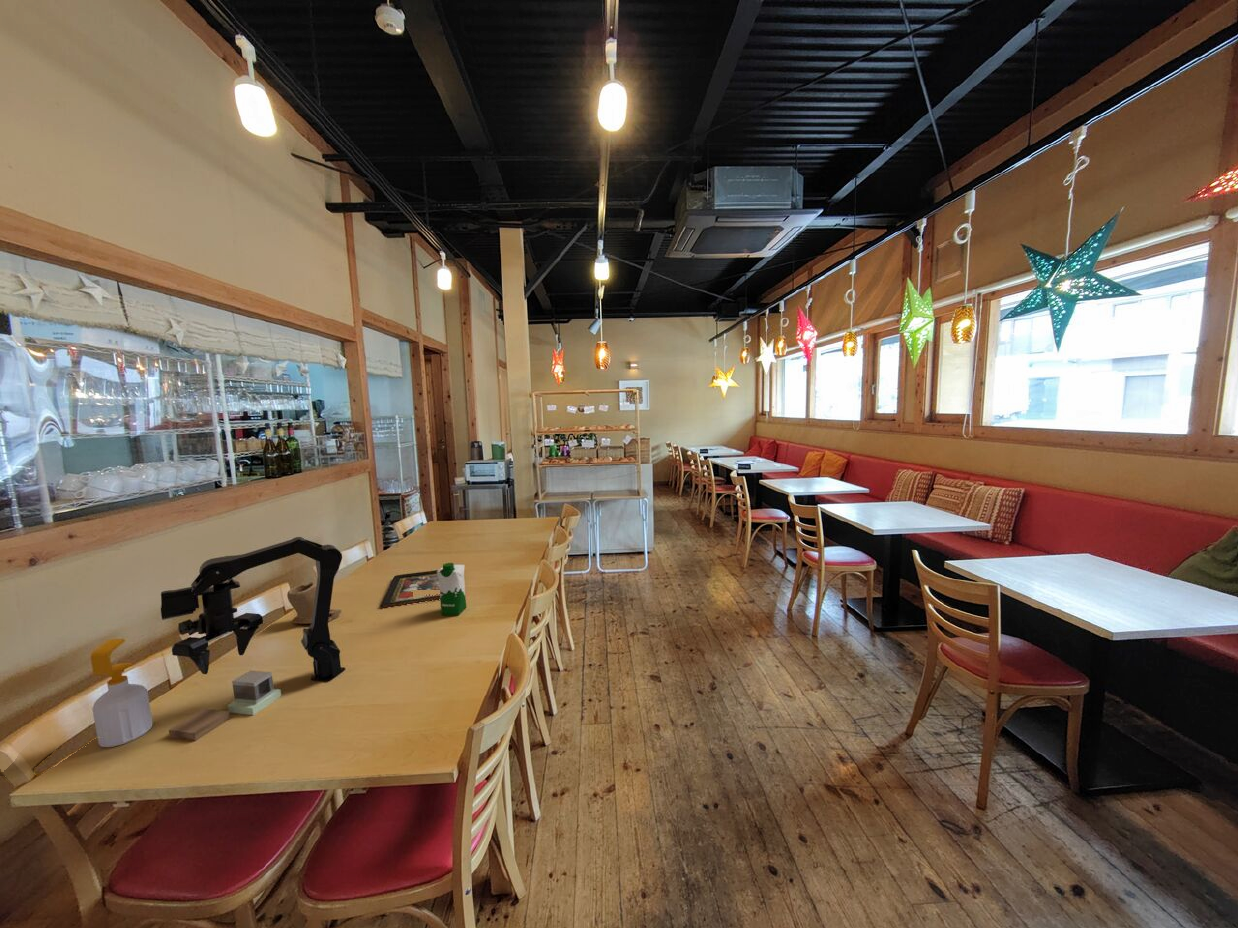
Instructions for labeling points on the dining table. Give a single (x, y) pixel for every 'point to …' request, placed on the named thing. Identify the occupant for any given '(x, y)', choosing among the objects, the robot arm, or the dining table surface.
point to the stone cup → (306, 603)
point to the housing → (253, 687)
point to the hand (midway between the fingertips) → (223, 663)
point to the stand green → (253, 708)
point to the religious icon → (410, 588)
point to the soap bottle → (118, 701)
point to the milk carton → (452, 589)
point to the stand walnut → (199, 724)
